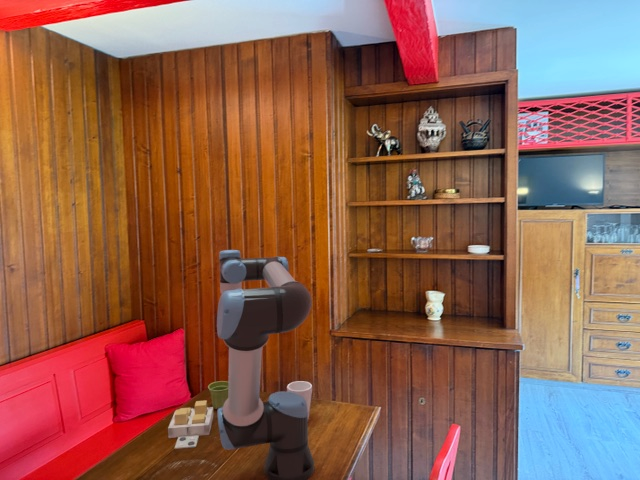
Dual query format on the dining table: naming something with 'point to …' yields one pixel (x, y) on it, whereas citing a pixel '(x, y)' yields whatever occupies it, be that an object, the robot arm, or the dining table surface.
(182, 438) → the pattern card
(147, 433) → the dining table surface
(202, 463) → the dining table surface
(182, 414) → the button near left
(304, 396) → the foam cup
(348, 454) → the dining table surface
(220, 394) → the plant pot
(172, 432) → the board
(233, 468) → the dining table surface
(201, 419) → the button near right
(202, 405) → the button far right
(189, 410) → the tan cube block
